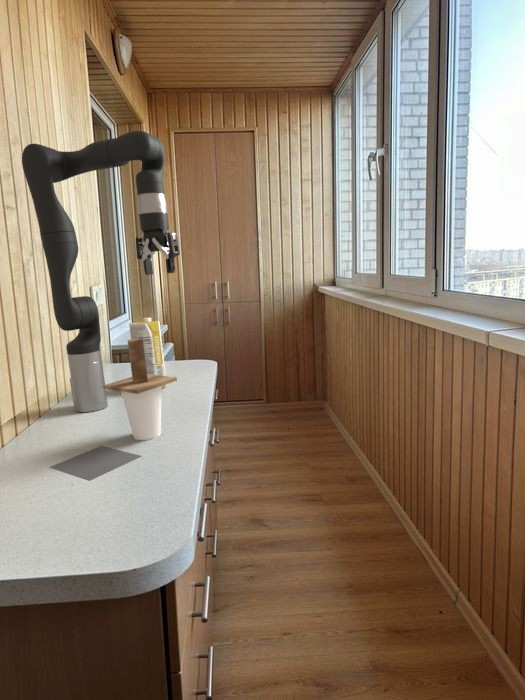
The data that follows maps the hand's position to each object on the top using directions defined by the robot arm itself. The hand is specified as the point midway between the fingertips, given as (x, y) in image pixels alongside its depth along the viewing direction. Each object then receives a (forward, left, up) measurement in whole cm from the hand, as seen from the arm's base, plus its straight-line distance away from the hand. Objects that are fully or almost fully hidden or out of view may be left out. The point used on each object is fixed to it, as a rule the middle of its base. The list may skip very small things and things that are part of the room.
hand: (159, 273), depth 132 cm
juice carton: (-24, +13, -38) cm, 47 cm away
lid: (+11, -20, -25) cm, 34 cm away
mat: (+13, -36, -38) cm, 54 cm away
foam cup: (+11, -20, -38) cm, 45 cm away
